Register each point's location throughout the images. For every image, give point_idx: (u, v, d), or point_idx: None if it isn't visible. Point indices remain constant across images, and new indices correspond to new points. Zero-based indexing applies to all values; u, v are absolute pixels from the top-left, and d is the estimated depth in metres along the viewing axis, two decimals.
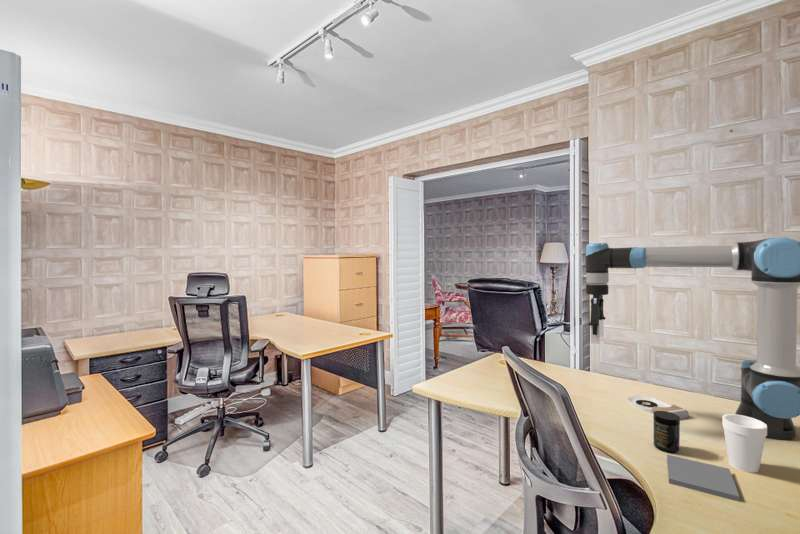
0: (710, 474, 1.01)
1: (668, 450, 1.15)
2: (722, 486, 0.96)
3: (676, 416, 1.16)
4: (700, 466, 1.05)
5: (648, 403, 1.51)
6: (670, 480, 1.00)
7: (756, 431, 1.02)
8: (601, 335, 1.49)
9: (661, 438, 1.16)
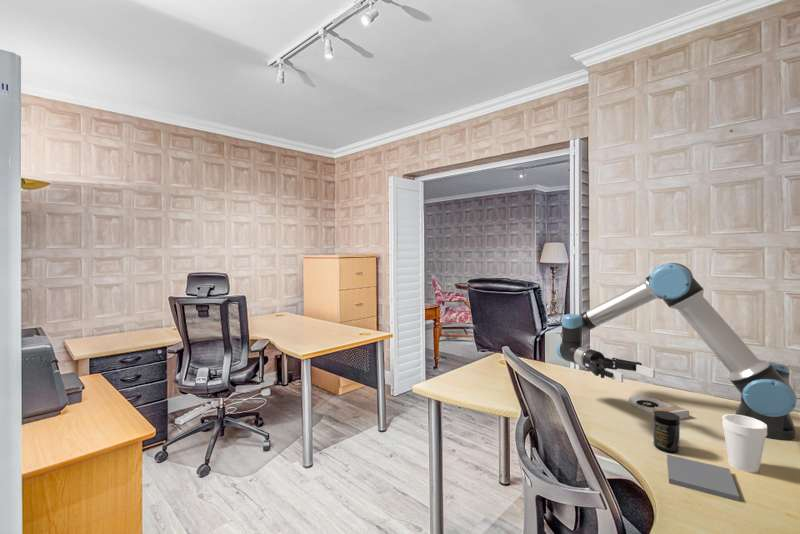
0: (710, 474, 1.01)
1: (668, 450, 1.15)
2: (722, 486, 0.96)
3: (676, 416, 1.16)
4: (700, 466, 1.05)
5: (649, 403, 1.50)
6: (670, 480, 1.00)
7: (756, 431, 1.02)
8: (652, 371, 1.28)
9: (661, 438, 1.16)
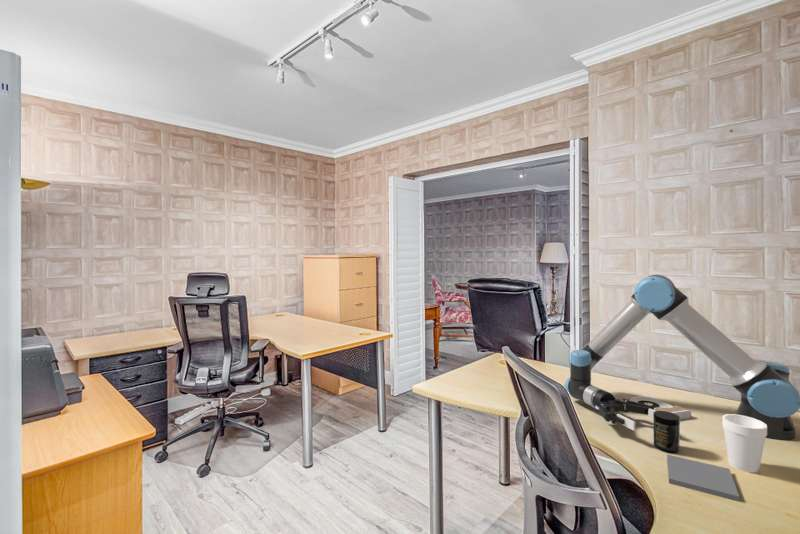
0: (710, 474, 1.01)
1: (668, 450, 1.15)
2: (722, 486, 0.96)
3: (676, 416, 1.16)
4: (700, 466, 1.05)
5: (650, 404, 1.50)
6: (670, 480, 1.00)
7: (756, 431, 1.02)
8: None
9: (661, 438, 1.16)
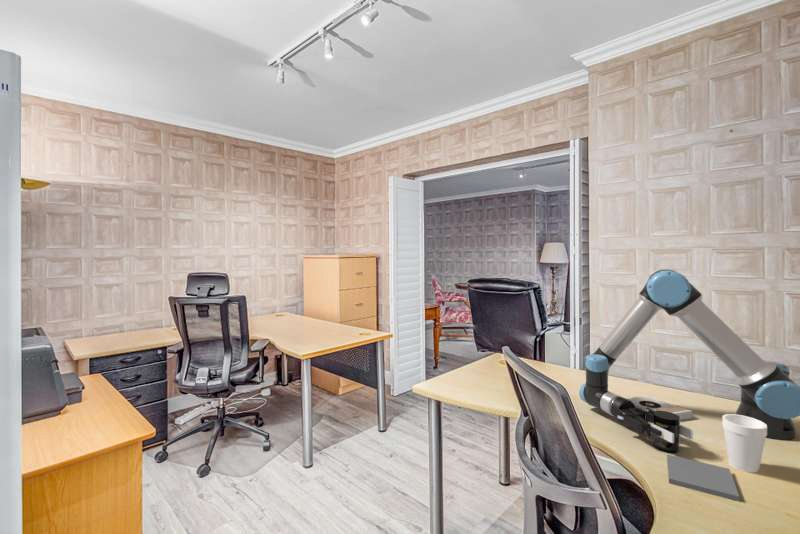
0: (710, 474, 1.01)
1: (668, 450, 1.14)
2: (722, 486, 0.96)
3: (676, 416, 1.16)
4: (700, 466, 1.05)
5: (651, 404, 1.50)
6: (670, 480, 1.00)
7: (756, 431, 1.02)
8: (689, 431, 1.14)
9: (661, 438, 1.16)
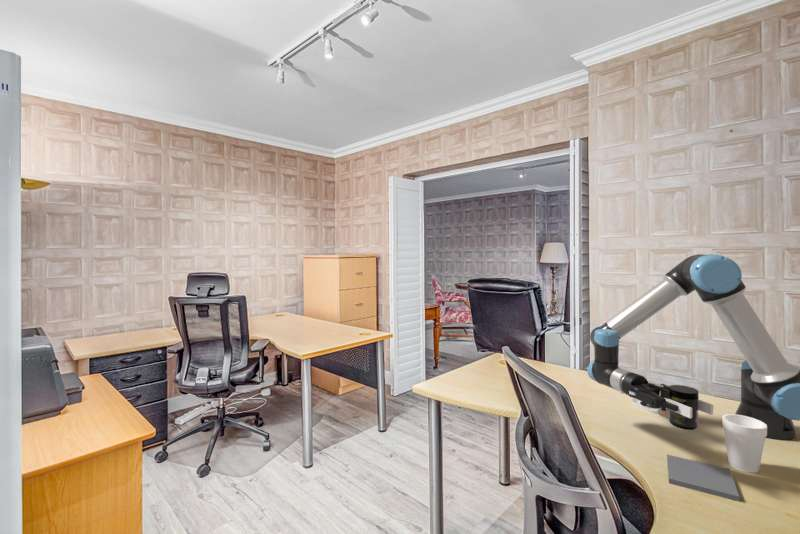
0: (710, 474, 1.01)
1: (685, 427, 1.04)
2: (722, 486, 0.96)
3: (694, 390, 1.06)
4: (700, 466, 1.05)
5: None
6: (670, 480, 1.00)
7: (756, 431, 1.02)
8: (709, 406, 1.03)
9: (677, 413, 1.05)
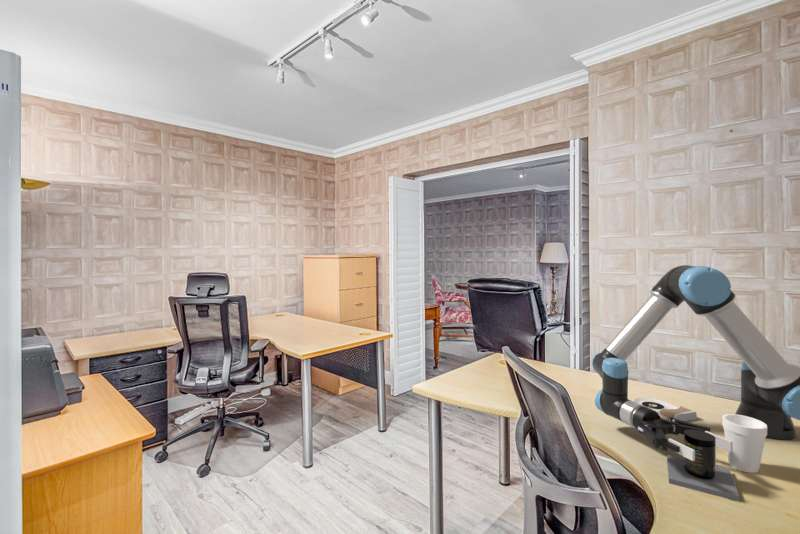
0: None
1: (702, 476, 0.99)
2: (722, 486, 0.96)
3: (711, 436, 1.01)
4: None
5: (654, 405, 1.49)
6: (670, 480, 1.00)
7: (756, 431, 1.02)
8: (728, 443, 1.01)
9: (694, 461, 1.00)
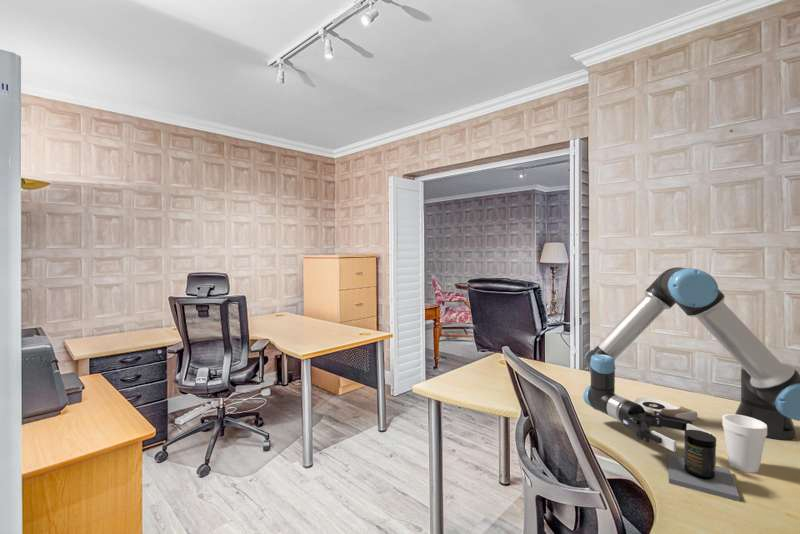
0: None
1: (702, 476, 0.99)
2: (722, 486, 0.96)
3: (711, 437, 1.01)
4: None
5: (655, 405, 1.49)
6: (670, 480, 1.00)
7: (756, 431, 1.02)
8: None
9: (694, 462, 1.00)
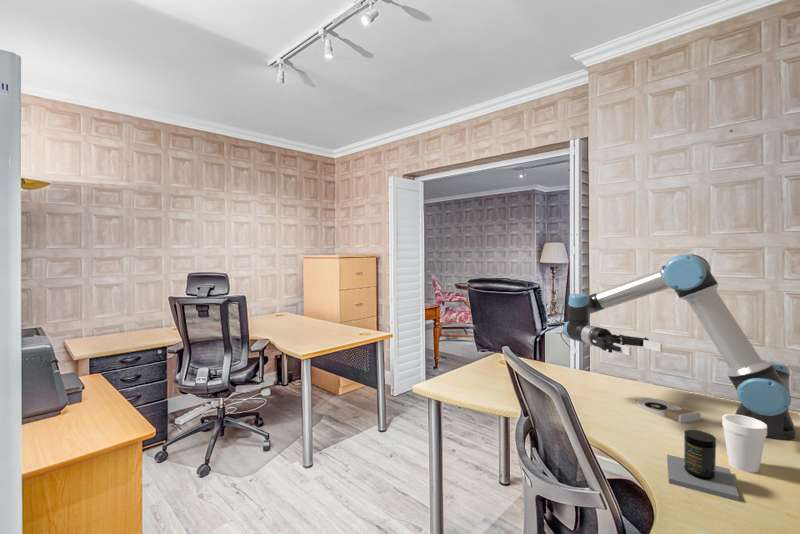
0: None
1: (702, 476, 0.99)
2: (722, 486, 0.96)
3: (711, 437, 1.01)
4: None
5: (657, 405, 1.48)
6: (670, 480, 1.00)
7: (756, 431, 1.02)
8: (659, 345, 1.30)
9: (694, 462, 1.00)
